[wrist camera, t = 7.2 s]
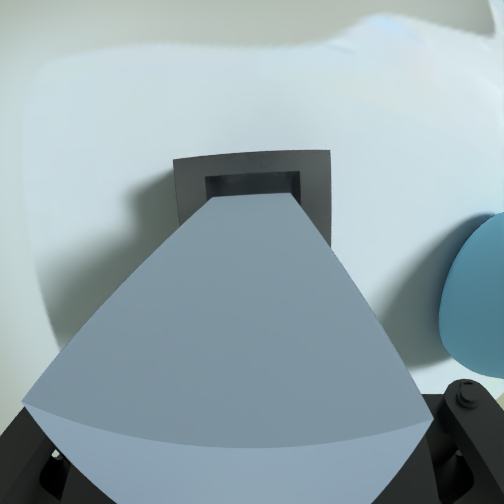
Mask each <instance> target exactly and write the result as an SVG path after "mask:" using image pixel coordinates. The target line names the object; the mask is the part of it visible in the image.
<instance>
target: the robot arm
mask: <svg viewBox="0 0 504 504" xmlns="http://www.w3.org/2000/svg"><path fill="white" fill-rule="evenodd" d="M421 395H422V397H423V399H424V400H425V402H426V404H427V406H428V408H429V410H430V412H431V414H432V416H433V418H434V419H433V421H432V423H431V424H430V426H429V428H428V429H427V431H426V432H425V434H424V436H423V437H422V439H421V440H420V442H419V443H418V445H417V446H416V448H415V449H414V451H413V452H412V454H411V455H410V456H409V458H408V459H407V461H406V462H405V463H404V465H403V466H402V467H401V469H400V470H399V471H398V472H397V474H396V475H395V476H394V478H393V479H392V480H391V481H390V482H389V484H388V485H387V486H386V487H385V488H384V490H383V491H382V492H381V493H380V494H379V495H378V496H377V498H376V499H375V500H374V501H373V502H372V503H371V504H504V411H503V409H502V408H501V407H500V405H499V404H498V403H497V402H496V401H495V399H494V398H493V397H492V396H491V394H490V393H489V392H488V391H487V390H486V388H484V387H483V386H482V385H481V384H480V383H478V382H476V381H473V380H470V379H460V380H456V381H454V382H452V383H451V384H449V385H448V387H447V389H446V391H445V393H444V394H421ZM55 449H56V450H57V451H58V452H59V453H60V454H59V455H58V456H57V457H53V456H52V453H53V452H54V450H55ZM0 504H117V503H116V502H114V501H113V500H112V499H111V498H109V497H108V496H107V495H106V494H105V493H104V492H102V491H101V490H100V489H99V488H98V487H97V486H95V485H94V484H93V483H92V482H91V481H90V480H89V479H88V478H87V477H86V476H85V475H84V474H82V473H81V472H80V471H79V470H78V469H77V468H76V467H75V466H74V465H73V464H72V463H71V462H70V460H69V459H68V458H67V457H66V456H65V455H64V454H63V453H62V452H61V451H60V450H59V449H58V448H57V446H56V445H55V444H54V443H53V442H52V441H51V439H50V438H49V437H48V436H47V435H46V434H45V432H44V431H43V430H42V429H41V427H40V426H39V425H38V423H37V422H36V421H35V420H34V418H33V417H32V416H31V414H30V413H29V412H28V410H27V409H26V407H25V406H24V408H23V409H22V410H21V411H20V412H19V414H18V415H17V416H16V417H15V419H14V420H13V421H12V422H11V424H10V425H9V426H8V427H7V428H6V430H5V431H4V432H3V433H2V435H1V436H0Z"/></svg>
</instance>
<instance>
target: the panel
mask: <svg viewBox="0 0 504 504" xmlns="http://www.w3.org/2000/svg"><path fill="white" fill-rule="evenodd" d="M22 403H23V405H24V406H25V407H26V409H27V410H28V412H29V413H30V414H31V416H32V417H33V418H34V420H35V421H36V422H37V423H38V425H39V426H40V427H41V429H42V430H43V431H44V432H45V434H46V435H47V436H48V437H49V438H50V439H51V441H52V442H53V443H54V444H55V445H56V446H57V448H58V449H59V450H60V451H61V452H62V453H63V454H64V455H65V456H66V457H67V458H68V459H69V460H70V462H71V463H72V464H73V465H74V466H75V467H76V468H77V469H78V470H79V471H80V472H81V473H82V474H84V475H85V476H86V477H87V478H88V479H89V480H90V481H91V482H92V483H93V484H94V485H95V486H97V487H98V488H99V489H100V490H101V491H102V492H104V493H105V494H106V495H107V496H108V497H109V498H111V499H112V500H113V501H114V502H116V503H117V504H371V503H372V502H373V501H374V500H375V499H376V498H377V496H378V495H379V494H380V493H381V492H382V491H383V490H384V488H385V487H386V486H387V485H388V484H389V482H390V481H391V480H392V479H393V478H394V476H395V475H396V474H397V472H398V471H399V470H400V469H401V467H402V466H403V465H404V463H405V462H406V461H407V459H408V458H409V456H410V455H411V454H412V452H413V451H414V449H415V448H416V446H417V445H418V443H419V442H420V440H421V439H422V437H423V436H424V434H425V432H426V431H427V429H428V428H429V426H430V424H431V423H432V421H433V419H434V418H433V416H432V414H431V412H430V410H429V408H428V406H427V404H426V402H425V400H424V399H423V397H422V395H421V393H420V391H419V389H418V387H417V386H416V384H415V382H414V380H413V378H412V377H411V375H410V373H409V371H408V369H407V368H406V366H405V364H404V362H403V361H402V359H401V357H400V355H399V354H398V352H397V350H396V349H395V347H394V345H393V344H392V342H391V340H390V339H389V337H388V335H387V334H386V332H385V330H384V329H383V327H382V325H381V324H380V322H379V321H378V319H377V317H376V316H375V314H374V313H373V311H372V309H371V308H370V306H369V305H368V303H367V302H366V300H365V298H364V297H363V295H362V294H361V292H360V291H359V289H358V288H357V286H356V285H355V283H354V282H353V280H352V279H351V277H350V276H349V274H348V273H347V271H346V270H345V268H344V267H343V265H342V264H341V262H340V261H339V259H338V258H337V257H336V255H335V254H334V252H333V251H332V249H331V248H330V247H329V245H328V244H327V242H326V241H325V239H324V238H323V237H322V235H321V234H320V232H319V231H318V230H317V228H316V227H315V226H314V224H313V223H312V221H311V220H310V219H309V217H308V216H307V215H306V213H305V212H304V211H303V209H302V208H301V207H300V205H299V204H298V203H297V201H296V200H295V199H294V197H293V196H292V195H291V193H275V194H255V195H238V196H224V197H212V198H211V199H210V200H209V201H208V202H207V203H205V204H204V205H203V206H202V207H201V208H200V209H199V210H198V211H197V212H195V213H194V214H193V215H192V216H191V217H190V218H189V219H188V220H187V221H186V222H185V223H184V224H182V225H181V226H180V227H179V228H178V229H177V230H176V231H175V232H174V233H173V234H172V235H171V236H170V237H169V238H168V239H167V240H165V241H164V242H163V243H162V244H161V245H160V246H159V247H158V248H157V249H156V250H155V251H154V252H153V253H152V254H151V255H150V256H149V257H148V258H147V259H146V260H145V261H144V262H143V263H142V264H141V265H140V266H139V267H138V268H137V269H136V270H135V271H134V272H133V273H132V274H131V275H130V276H129V277H128V278H127V279H126V280H125V281H124V282H123V283H122V284H121V285H120V286H119V287H118V288H117V289H116V291H115V292H114V293H113V294H112V295H111V296H110V297H109V298H108V299H107V300H106V301H105V302H104V303H103V304H102V305H101V307H100V308H99V309H98V310H97V311H96V312H95V313H94V314H93V315H92V316H91V317H90V319H89V320H88V321H87V322H86V323H85V324H84V325H83V326H82V328H81V329H80V330H79V331H78V332H77V333H76V334H75V336H74V337H73V338H72V339H71V340H70V341H69V342H68V344H67V345H66V346H65V347H64V348H63V349H62V351H61V352H60V353H59V354H58V355H57V357H56V358H55V359H54V361H53V362H52V363H51V364H50V365H49V367H48V368H47V369H46V370H45V371H44V373H43V374H42V375H41V376H40V378H39V379H38V380H37V382H36V383H35V384H34V385H33V387H32V388H31V389H30V391H29V392H28V393H27V395H26V396H25V397H24V398H23V400H22Z"/></svg>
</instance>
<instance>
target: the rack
mask: <svg viewBox="0 0 504 504" xmlns="http://www.w3.org/2000/svg"><path fill="white" fill-rule="evenodd" d="M173 167H174V178H175V188H176V197H177V206H178V215H179V223H180V226H181V225H182V224H184V223H185V222H186V221H187V220H188V219H189V218H190V217H191V216H192V215H193V214H194V213H195V212H197V211H198V210H199V209H200V208H201V207H202V206H203V205H204V204H205V203H207V202H208V201H209V200H210V199H211V198H212V197H224V196H238V195H255V194H275V193H291V195H292V196H293V197H294V199H295V200H296V201H297V203H298V204H299V205H300V207H301V208H302V209H303V211H304V212H305V213H306V215H307V216H308V217H309V219H310V220H311V221H312V223H313V224H314V226H315V227H316V228H317V230H318V231H319V232H320V234H321V235H322V237H323V238H324V239H325V241H326V242H327V244H328V245H329V247H330V248H331V157H330V150H283V151H260V152H243V153H230V154H218V155H208V156H198V157H190V158H181V159H174V160H173Z"/></svg>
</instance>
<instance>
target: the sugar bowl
mask: <svg viewBox="0 0 504 504" xmlns="http://www.w3.org/2000/svg"><path fill="white" fill-rule="evenodd" d="M439 332H440V337H441V340H442V344H443V345H444V347H445V349H446V350H447V351H448V353H449V354H450V355H451V356H452V357H453V358H454V359H455V360H456V361H457V362H459V363H460V364H461V365H463V366H464V367H466V368H468V369H469V370H471V371H473V372H476V373H478V374H481V375H485V376H489V377H495V378H501V379H504V212H503V213H499V214H497V215H495V216H493V217H491V218H490V219H489V220H487V221H486V222H484V223H483V224H482V225H481V226H480V227H479V228H478V229H476V230H475V231H474V232H473V234H472V235H471V236H470V237H469V238H468V239H467V241H466V242H465V243H464V244H463V246H462V247H461V249H460V251H459V252H458V254H457V256H456V257H455V259H454V261H453V263H452V266H451V268H450V270H449V273H448V276H447V278H446V282H445V285H444V289H443V293H442V298H441V303H440V311H439Z"/></svg>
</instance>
